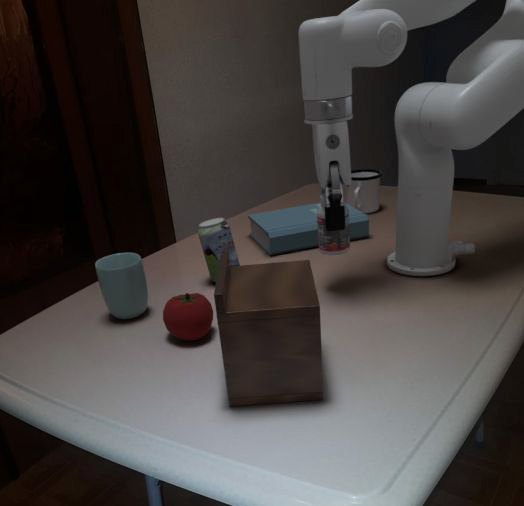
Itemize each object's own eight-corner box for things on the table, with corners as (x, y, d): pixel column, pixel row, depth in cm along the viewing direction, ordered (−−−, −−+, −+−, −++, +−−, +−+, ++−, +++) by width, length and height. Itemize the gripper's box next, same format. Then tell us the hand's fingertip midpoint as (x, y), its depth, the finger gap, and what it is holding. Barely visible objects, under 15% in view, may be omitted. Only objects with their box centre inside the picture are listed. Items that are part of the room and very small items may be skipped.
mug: (348, 204, 147) (348, 169, 143) (384, 204, 144) (385, 168, 139) (337, 217, 138) (336, 180, 133) (375, 218, 134) (375, 180, 130)
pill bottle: (312, 253, 97) (309, 197, 92) (330, 243, 100) (327, 189, 96) (339, 258, 94) (336, 200, 89) (356, 247, 97) (354, 191, 92)
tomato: (214, 320, 93) (208, 280, 89) (218, 343, 86) (212, 300, 82) (166, 328, 92) (158, 287, 89) (166, 351, 85) (158, 308, 82)
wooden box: (313, 342, 84) (308, 243, 76) (323, 399, 70) (319, 286, 63) (233, 348, 84) (221, 250, 76) (229, 406, 71) (213, 294, 63)
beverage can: (238, 287, 105) (230, 224, 99) (200, 287, 106) (191, 225, 100) (245, 274, 110) (239, 214, 104) (210, 274, 111) (201, 215, 106)
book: (338, 220, 136) (338, 199, 133) (368, 238, 122) (369, 215, 120) (250, 236, 131) (247, 215, 128) (271, 256, 117) (269, 233, 115)
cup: (113, 328, 94) (100, 272, 89) (103, 312, 100) (89, 259, 95) (157, 315, 96) (147, 261, 92) (144, 300, 103) (134, 249, 98)
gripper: (361, 114, 78) (363, 238, 87) (344, 100, 93) (348, 207, 102) (308, 121, 78) (316, 243, 88) (300, 106, 93) (307, 212, 102)
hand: (333, 223), depth 95 cm, fingers closed on pill bottle, 5 cm apart
